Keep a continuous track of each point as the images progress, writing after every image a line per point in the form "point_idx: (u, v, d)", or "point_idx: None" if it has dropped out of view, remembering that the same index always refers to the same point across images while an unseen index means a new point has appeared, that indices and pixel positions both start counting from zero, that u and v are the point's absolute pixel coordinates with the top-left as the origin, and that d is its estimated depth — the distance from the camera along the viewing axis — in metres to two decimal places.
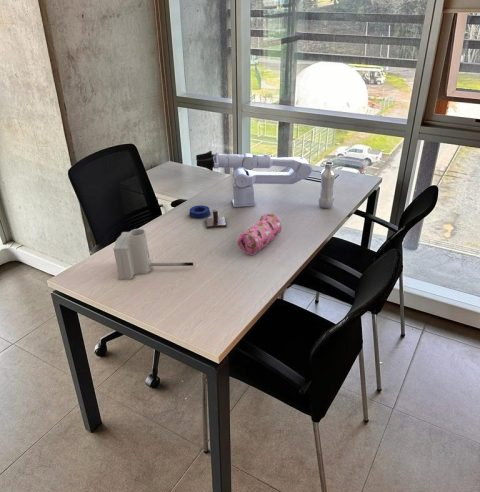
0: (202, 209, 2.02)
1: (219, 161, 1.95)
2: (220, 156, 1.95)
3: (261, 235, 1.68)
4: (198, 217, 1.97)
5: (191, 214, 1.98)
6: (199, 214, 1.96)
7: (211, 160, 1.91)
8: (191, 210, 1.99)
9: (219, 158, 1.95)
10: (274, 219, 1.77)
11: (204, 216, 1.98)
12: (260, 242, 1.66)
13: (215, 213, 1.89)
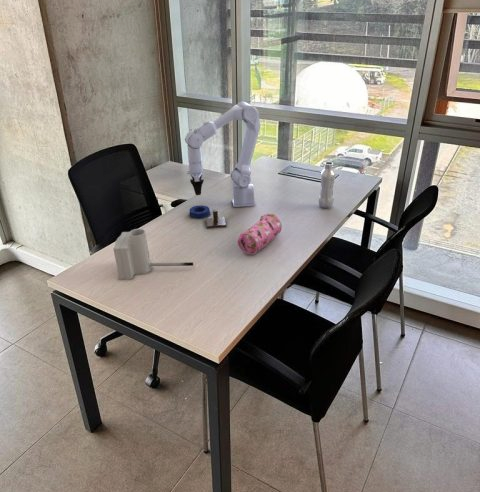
0: (202, 209, 2.02)
1: (194, 172, 1.91)
2: (190, 170, 1.92)
3: (261, 235, 1.68)
4: (198, 217, 1.97)
5: (191, 214, 1.98)
6: (199, 214, 1.96)
7: (192, 183, 1.91)
8: (191, 210, 1.99)
9: (192, 171, 1.92)
10: (274, 219, 1.77)
11: (204, 216, 1.98)
12: (260, 242, 1.66)
13: (215, 213, 1.89)
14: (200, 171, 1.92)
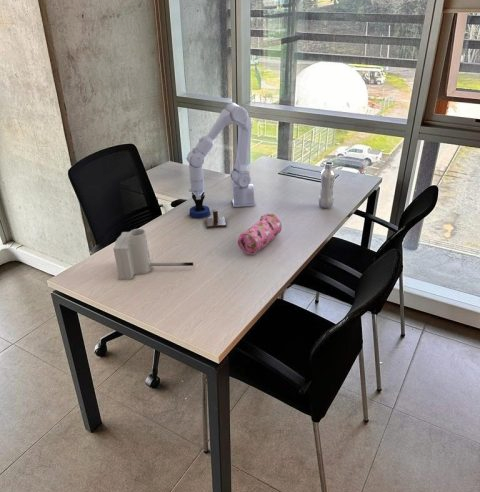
0: (202, 209, 2.02)
1: (196, 190, 1.96)
2: (192, 188, 1.96)
3: (261, 235, 1.68)
4: (198, 217, 1.97)
5: (191, 214, 1.98)
6: (199, 214, 1.96)
7: (193, 198, 1.97)
8: (191, 210, 1.99)
9: (193, 189, 1.96)
10: (274, 219, 1.77)
11: (204, 216, 1.98)
12: (260, 242, 1.66)
13: (215, 213, 1.89)
14: (201, 189, 1.96)
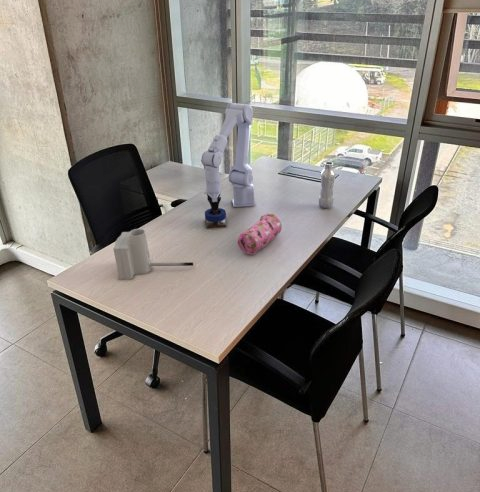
0: (218, 212, 1.92)
1: (212, 191, 1.86)
2: (207, 189, 1.86)
3: (261, 235, 1.68)
4: (214, 220, 1.87)
5: (206, 217, 1.88)
6: (215, 217, 1.87)
7: (209, 201, 1.87)
8: (206, 213, 1.89)
9: (209, 191, 1.86)
10: (274, 218, 1.77)
11: (220, 219, 1.88)
12: (260, 242, 1.66)
13: (215, 213, 1.89)
14: (218, 191, 1.86)
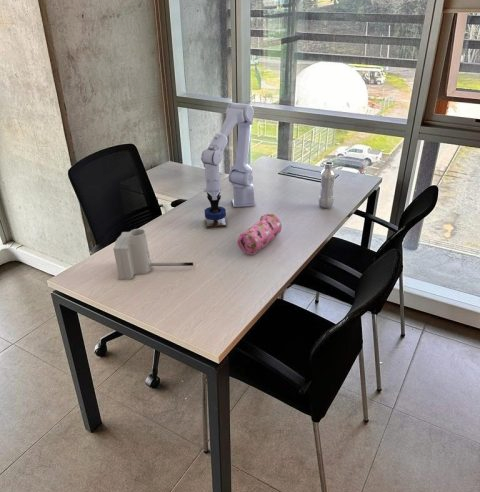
0: (217, 210, 1.92)
1: (212, 190, 1.85)
2: (207, 188, 1.86)
3: (261, 235, 1.68)
4: (214, 218, 1.87)
5: (206, 215, 1.88)
6: (215, 215, 1.86)
7: (209, 199, 1.86)
8: (206, 211, 1.89)
9: (209, 189, 1.86)
10: (274, 218, 1.77)
11: (220, 217, 1.87)
12: (260, 242, 1.66)
13: None
14: (217, 189, 1.86)
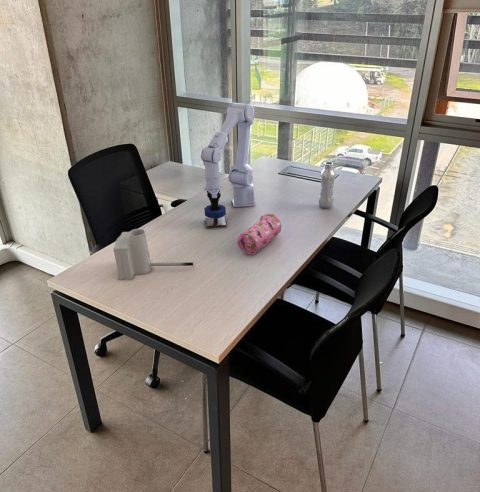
0: (217, 208, 1.91)
1: (212, 188, 1.85)
2: (207, 186, 1.86)
3: (261, 235, 1.68)
4: (214, 217, 1.86)
5: (206, 213, 1.87)
6: (215, 214, 1.86)
7: (209, 197, 1.86)
8: (206, 209, 1.88)
9: (209, 187, 1.85)
10: (274, 218, 1.77)
11: (220, 216, 1.87)
12: (260, 242, 1.66)
13: None
14: (217, 187, 1.86)
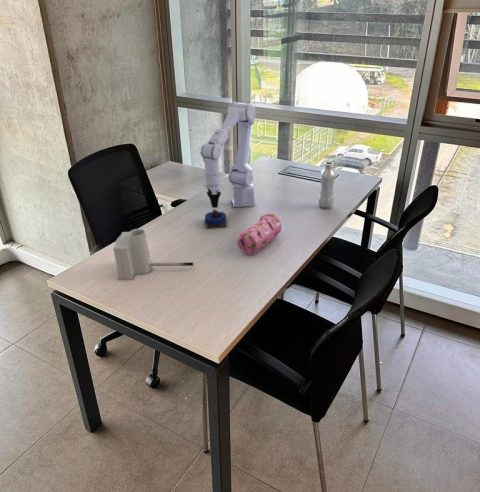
0: (218, 215, 1.94)
1: (211, 184, 1.84)
2: (207, 182, 1.85)
3: (261, 235, 1.68)
4: (214, 224, 1.89)
5: (207, 221, 1.90)
6: (215, 221, 1.88)
7: (209, 195, 1.84)
8: (207, 216, 1.91)
9: (208, 184, 1.84)
10: (274, 218, 1.77)
11: (220, 223, 1.89)
12: (259, 242, 1.66)
13: (215, 213, 1.89)
14: (217, 183, 1.85)
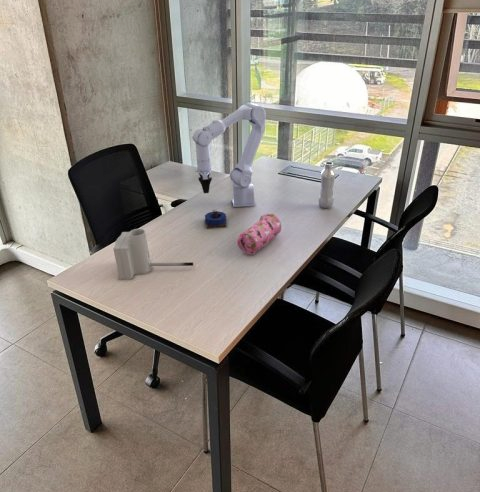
0: (218, 215, 1.94)
1: (202, 170, 1.90)
2: (198, 168, 1.91)
3: (261, 235, 1.68)
4: (214, 224, 1.89)
5: (207, 221, 1.90)
6: (215, 221, 1.88)
7: (200, 181, 1.89)
8: (207, 216, 1.91)
9: (200, 169, 1.91)
10: (274, 218, 1.77)
11: (220, 223, 1.89)
12: (259, 242, 1.66)
13: (215, 213, 1.89)
14: (208, 169, 1.91)
